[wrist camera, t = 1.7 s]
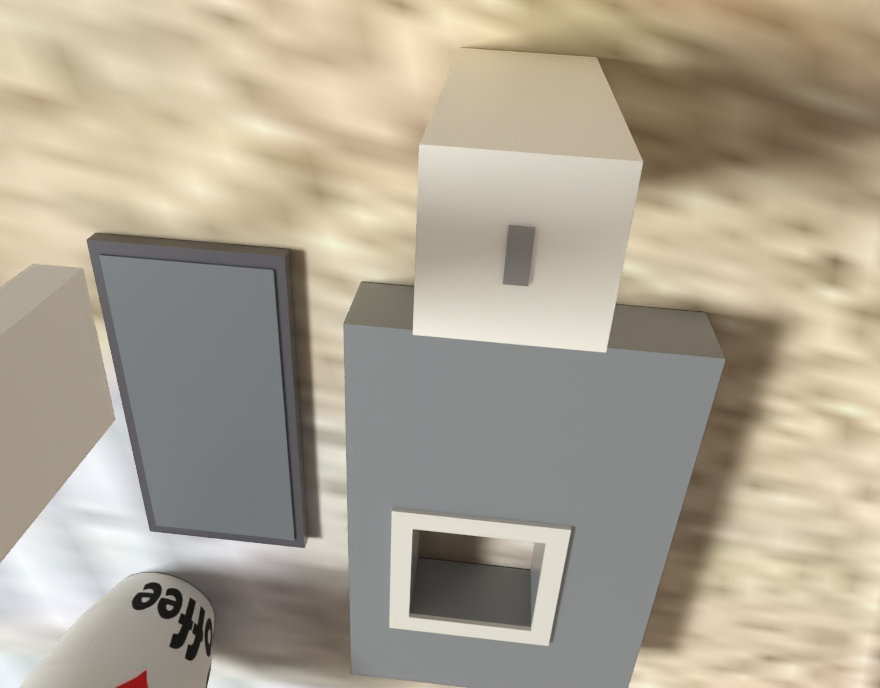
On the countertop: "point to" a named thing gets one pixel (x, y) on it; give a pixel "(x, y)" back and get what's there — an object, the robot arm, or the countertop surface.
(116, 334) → the phone
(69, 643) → the cup
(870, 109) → the countertop surface
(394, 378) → the plate
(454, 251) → the block
